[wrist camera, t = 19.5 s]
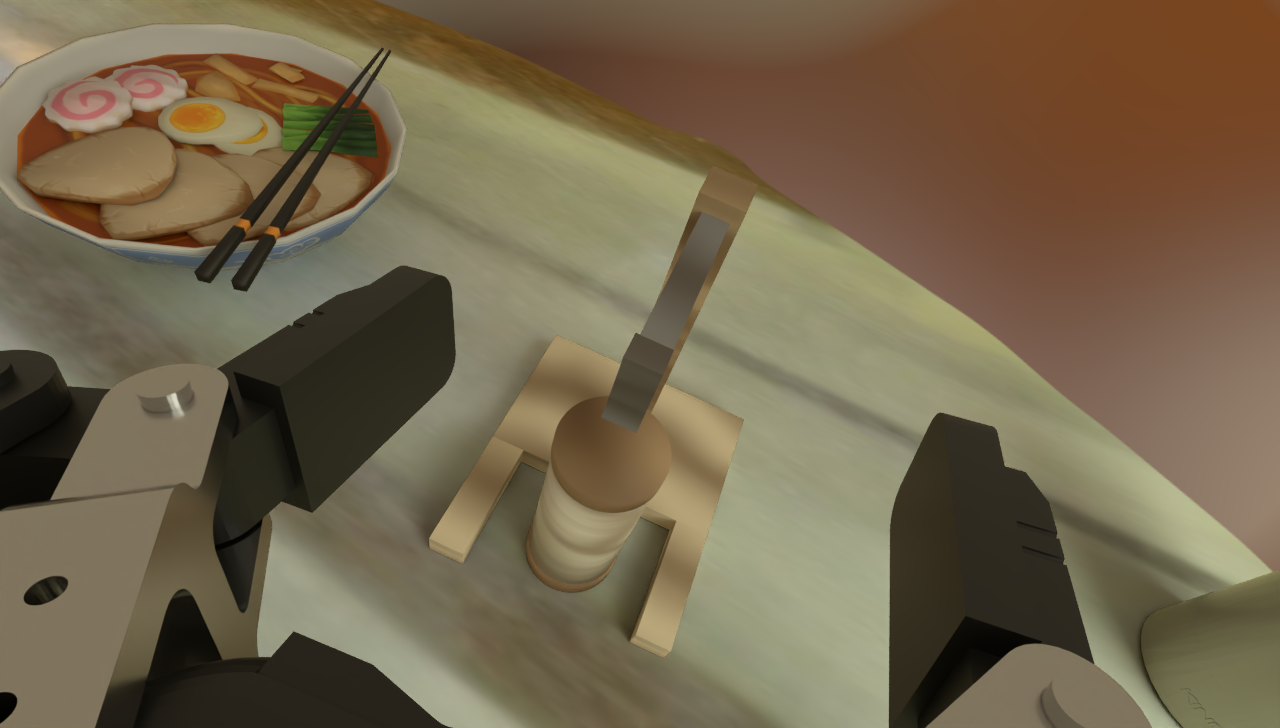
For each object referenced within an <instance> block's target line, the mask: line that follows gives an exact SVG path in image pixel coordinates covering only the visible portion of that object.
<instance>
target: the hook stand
mask: <svg viewBox="0 0 1280 728" xmlns="http://www.w3.org/2000/svg"><path fill="white" fill-rule="evenodd" d="M757 187H758V185H756V184H754V183H752V182H750V181H747V180H745V179H743V178H740V177H738V176H736V175H734V174H731V173H729V172H727V171H725V170H722V169H720V168H718V167H715V166H713V167H712V169H711V170H710V172H709V174H708V176H707V178H706V180H705V182H704V184H703V186H702V187H701V189H700V191H699V194H698V196H697V199H696V201H695V204H694V206H693V209H692V212H691V214H690V217H689V219H688V222H687V225H686V227H685V230H684V232H683V235H682V237H681V240H680V243H679V245H678V248H677V250H676V253H675V255H674V258H673V261H672V263H671V266H670V268H669V271H668V273H667V276H666V279H665V281H664V284H663V286H662V289H661V292H660V294H659V297H658V299H657V302H656V304H655V306H654V308H653V310H652V312H651V314H650V316H649V318H648V320H647V322H646V324H645V326H644V328H643V330H642V332H641V334H637V333H635V335H634V337H633V339H632V341H631V343H630V345H629V347H628V349H627V351H626V353H625V355H624V357H623V359H622V362H621V364H620V363H618V362H616V361H613V360H611V359H609V358H607V357H605V356H602V355H600V354H598V353H596V352H594V351H591V350H589V349H587V348H585V347H583V346H580V345H578V344H576V343H574V342H571V341H569V340H567V339H565V338H563V337H560V336H558V335H556V336H555V338H554V340H553V341H552V343H551V344H550V346H549V348H548V349H547V351H546V352H545V354H544V356H543V357H542V359H541V360H540V362H539V364H538V365H537V367H536V368H535V370H534V371H533V373H532V375H531V376H530V378H529V379H528V381H527V383H526V384H525V386H524V387H523V389H522V391H521V392H520V394H519V395H518V397H517V399H516V400H515V402H514V403H513V405H512V407H511V408H510V410H509V411H508V413H507V415H506V416H505V418H504V419H503V421H502V423H501V424H500V426H499V427H498V429H497V431H496V432H495V434H494V435H493V437H492V439H491V440H490V442H489V443H488V445H487V447H486V448H485V450H484V451H483V453H482V455H481V456H480V458H479V459H478V461H477V463H476V464H475V466H474V467H473V469H472V471H471V472H470V474H469V475H468V477H467V479H466V480H465V482H464V483H463V485H462V487H461V488H460V490H459V491H458V493H457V495H456V496H455V498H454V499H453V501H452V503H451V504H450V506H449V507H448V509H447V511H446V512H445V514H444V515H443V517H442V519H441V520H440V522H439V523H438V525H437V527H436V528H435V530H434V531H433V533H432V534H431V536H430V538H429V546H430V549H432V550H434V551H436V552H438V553H440V554H442V555H444V556H447V557H449V558H451V559H453V560H455V561H457V562H459V563H462V564H463V562H464V561H465V559H466V557H467V555H468V554H469V552H470V550H471V548H472V547H473V545H474V543H475V541H476V540H477V538H478V536H479V534H480V533H481V531H482V529H483V527H484V526H485V524H486V522H487V520H488V519H489V517H490V515H491V513H492V512H493V510H494V508H495V506H496V505H497V503H498V501H499V499H500V498H501V496H502V494H503V492H504V491H505V489H506V487H507V485H508V484H509V482H510V480H511V478H512V477H513V475H514V473H515V471H516V470H517V468H518V466H519V464H520V463H521V462H523V463H525V464H527V465H529V466H531V467H533V468H536V469H538V470H540V471H542V472H544V473H547V469H548V466H549V462H550V458H551V446H552V442H553V439H554V435H555V431H556V428H557V426H558V424H559V422H560V420H561V419H562V417H563V416H564V415H565V413H566V412H567V411H568V410H569V409H571V408H572V407H573V406H575V405H576V404H578V403H580V402H582V401H584V400H587V399H590V398H595V397H603V396H609V398H608V401H607V403H606V406H605V409H604V412H603V414H602V418H604V419H606V420H608V421H610V422H613V423H615V424H617V425H619V426H621V427H624V428H626V429H628V430H630V431H632V432H635V433H637V430H638V428H639V426H640V424H641V422H642V420H643V417H644V415H645V413H646V411H647V410H648V411H649V412H650V413H651V414H653V415H654V416H655V417H656V418H657V420H658V421H659V422H660V423H661V425H662V426H663V428H664V429H665V431H666V433H667V436H668V438H669V441H670V445H671V451H672V460H671V466H670V469H669V473H668V475H667V477H666V479H665V480H664V482H663V484H662V485H661V487H660V489H659V490H658V492H657V493H656V494H655V495H654V497H653V498H652V499H651V500H650V501H649V503H648V504H647V506H646V508H645V509H644V511H643V513H642V514H641V516H640V517H642V518H644V519H646V520H648V521H651V522H653V523H655V524H657V525H659V526H661V527H664V528H666V529H668V530H670V531H669V533H668V536H667V539H666V542H665V544H664V547H663V550H662V553H661V556H660V558H659V561H658V564H657V567H656V569H655V572H654V575H653V578H652V581H651V583H650V586H649V589H648V592H647V594H646V597H645V600H644V603H643V606H642V608H641V611H640V614H639V617H638V619H637V622H636V625H635V628H634V631H633V633H632V636H631V639H630V643H632V644H635V645H637V646H639V647H641V648H643V649H645V650H647V651H650V652H652V653H654V654H656V655H658V656H660V657H662V658H663V657H665V656H666V655H667V654H668V653H669V652H670V651H671V649H672V645H673V642H674V639H675V636H676V633H677V630H678V626H679V623H680V620H681V617H682V614H683V611H684V607H685V604H686V601H687V598H688V595H689V592H690V588H691V585H692V582H693V579H694V576H695V573H696V569H697V566H698V563H699V560H700V557H701V554H702V550H703V547H704V544H705V541H706V538H707V535H708V532H709V528H710V525H711V522H712V519H713V516H714V513H715V509H716V506H717V503H718V500H719V497H720V494H721V490H722V487H723V484H724V481H725V478H726V475H727V471H728V468H729V465H730V462H731V459H732V456H733V452H734V449H735V446H736V443H737V440H738V437H739V433H740V430H741V427H742V424H743V421H744V419H742V418H739V417H737V416H735V415H733V414H731V413H728V412H726V411H724V410H722V409H719V408H717V407H715V406H713V405H711V404H708V403H706V402H704V401H702V400H700V399H697V398H695V397H693V396H691V395H689V394H686V393H684V392H682V391H680V390H678V389H675V388H673V387H671V386H669V385H666V384H665V383H666V381H667V379H668V377H669V375H670V373H671V370H672V368H673V366H674V364H675V362H676V360H677V358H678V356H679V354H680V351H681V349H682V347H683V345H684V343H685V341H686V339H687V337H688V335H689V333H690V330H691V328H692V326H693V324H694V322H695V320H696V318H697V316H698V314H699V312H700V309H701V307H702V305H703V303H704V301H705V299H706V297H707V295H708V293H709V291H710V288H711V286H712V284H713V282H714V280H715V278H716V276H717V274H718V272H719V269H720V267H721V265H722V263H723V261H724V259H725V257H726V255H727V253H728V251H729V248H730V246H731V244H732V242H733V240H734V238H735V236H736V234H737V232H738V230H739V227H740V225H741V223H742V221H743V219H744V217H745V215H746V213H747V210H748V208H749V206H750V203H751V201H752V199H753V196H754V194H755V192H756V189H757Z"/></svg>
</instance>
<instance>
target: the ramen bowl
mask: <svg viewBox="0 0 1280 728" xmlns="http://www.w3.org/2000/svg"><path fill="white" fill-rule="evenodd" d="M383 50H384V48H381V49H380V51H379V52H378V53H377V54H376V55H375V57H374V58H373V59H372V60H371V61H370V63H369V64H368V65H367V66H366V67H365V69H363V68H362V67H360V66H359V65H358V64H357V63H355V62H354V61H353V60H352V59H350V58H347V57H345V56H343V55H340V54H338V53H335V52H333V51H331V50H328V49H326V48H324V47H321V46H319V45H316V44H314V43H312V42H309V41H307V40H305V39H302V38H300V37H297V36H294V35H288V34H283V33H277V32H272V31H266V30H260V29H255V28H249V27H244V26H238V25H232V24H149V25H144V26H139V27H134V28H129V29H124V30H119V31H114V32H109V33H104V34H99V35H94V36H89V37H84V38H80V39H77V40H75V41H73V42H71V43H69V44H66V45H64V46H62V47H60V48H58V49H56V50H53V51H51V52H49V53H47V54H45V55H43V56H40V57H38V58H36V59H34V60H32V61H30V62H27V63H25V64H23V65H21V66H19V67H17V68H16V69H15V70H14V71H13V72H12V73H11V74H10V76H9V77H8V78H7V79H6V80H5V81H4V82H3V83H2V85H1V86H0V189H1V190H2V191H3V192H4V193H5V194H6V195H7V197H8V198H9V199H10V200H11V201H12V202H13V203H14V204H15V206H16V207H17V208H19V209H20V210H22V211H24V212H26V213H28V214H30V215H31V216H33V217H35V218H37V219H39V220H41V221H42V222H44V223H46V224H48V225H51V226H53V227H55V228H58V229H60V230H62V231H65V232H67V233H69V234H72V235H74V236H76V237H79V238H81V239H83V240H86V241H88V242H90V243H93V244H95V245H97V246H100V247H102V248H104V249H107V250H109V251H111V252H114V253H116V254H119V255H122V256H124V257H127V258H130V259H133V260H136V261H139V262H145V263H151V264H158V265H168V266H178V267H189V268H197V269H196V271H195V274H196V277H197V279H198V280H199V281H203V282H207V283H211V282H212V281H213V279H214V278H215V276H216V275H217V274H218V272H219V271H222V270H229V269H236V268H240V269H239V270H238V272H237V273H236V274H235V276H234V277H233V279H232V280H231V282H232V285H233V288H234V289H236V290H241V291H246V292H247V290H248V289H249V287H250V285H251V284H252V282H253V280H254V279H255V277H256V275H257V274H258V272H259V270H260V269H261V267H262V265H264V264H271V263H278V262H283V261H286V260H288V259H290V258H292V257H295V256H297V255H299V254H301V253H303V252H306V251H308V250H310V249H312V248H315V247H317V246H319V245H321V244H323V243H326V242H328V241H330V240H332V239H334V238H335V237H337V236H339V235H340V234H342V233H343V232H344V231H345V230H346V229H347V228H348V227H349V226H350V225H351V224H352V223H353V222H354V221H355V220H356V219H357V218H358V217H359V216H360V215H361V214H362V213H363V212H364V211H365V210H366V209H367V208H368V207H370V206H371V205H372V204H373V203H374V202H375V201H376V200H377V199H378V197H379V196H380V195H381V194H382V193H383V192H384V191H385V190H386V189H387V188H388V187H389V185H390V183H391V182H392V180H393V178H394V177H395V175H396V173H397V171H398V168H399V164H400V159H401V155H402V150H403V146H404V141H405V137H406V132H407V128H406V125H405V123H404V121H403V118H402V116H401V114H400V112H399V109H398V107H397V105H396V102H395V100H394V98H393V95H392V93H391V91H390V90H389V89H388V88H386V87H385V86H384V85H383V84H381V83H380V82H379V81H378V80H376V79H375V78H376V76H377V74H378V73H379V71H380V69H381V68H382V66H383V64H384V63H385V61H386V59H387V58H388V56H389V54H390V53H391V50H389V51H388V52H387V54H386V55H385V57H384V58H383V60H382V61H381V63H380V64H379V66H378V67H377V68H376V70H375V71H374V73H373V74H372V75H370V74H369V73H368V70H369V69H370V68H371V66H372V65H373V64H374V62H375V61H376V59H377V58H378V57H379V55H380V54H381V53H382V51H383Z"/></svg>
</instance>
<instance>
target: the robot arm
mask: <svg viewBox="0 0 1280 728" xmlns="http://www.w3.org/2000/svg"><path fill="white" fill-rule="evenodd" d="M455 355H456V351H455V335H454V319H453V303H452V290H451V285H450V283H449V281H448V279H447V278H446V277H444V276H441V275H438V274H434V273H430V272H427V271H423V270H419V269H416V268H412V267H408V266H399V267H397V268H395V269H394V270H392V271H391V272H389V273H387V274H386V275H384V276H383V277H381V278H379V279H378V280H376V281H375V282H373V283H372V284H370V285H367V286H364V287H361V288H358V289H355V290H352V291H348V292H345V293H342V294H339V295H337V296H335V297H333V298H332V299H330V300H328V301H327V302H325V303H324V304H322V305H320V306H319V307H317V308H315V309H314V310H313V313H312V314H311V313H307V314H306V315H304V316H302V317H301V318H299V319H297V320H296V321H294V323H293V326H290V325H288V326H286V327H284V328H283V329H281V330H280V331H278V332H276V333H275V334H273V335H271V336H270V337H268V338H267V339H265V340H263V341H262V342H260V343H258V344H257V345H255V346H254V347H252V348H250V349H249V350H247V351H245V352H244V353H242V354H241V355H239V356H237V357H236V358H234V359H232V360H231V361H229V362H228V363H226V364H224V365H223V366H221V367H219V368H218V369H215V368H213V367H210V366H206V365H200V364H175V365H167V366H162V367H157V368H154V369H150V370H147V371H144V372H141V373H138V374H136V375H134V376H132V377H129V378H127V379H126V380H124V381H122V382H120V383H119V384H117V385H116V386H115V387H113V388H112V389H98V388H83V387H69V386H67V384H66V382H65V380H64V378H63V376H62V374H61V372H60V370H59V368H58V366H57V364H56V362H55V361H54V359H53V358H52V357H50V356H49V355H47V354H44V353H41V352H37V351H30V350H7V351H0V728H451V727H447V726H445V725H443V724H441V723H440V722H438V721H437V720H436V719H434V718H433V717H432V716H431V715H430V714H429V713H427V712H426V711H425V710H424V709H423V708H422V707H421V706H419V705H418V704H417V703H416V702H415V701H414V700H413V699H411V698H410V697H409V696H408V695H407V694H406V693H405V692H403V691H402V690H401V689H400V688H399V687H398V686H397V685H395V684H394V683H393V682H392V681H391V680H390V679H389V678H387V677H386V676H385V675H384V674H383V673H382V672H380V671H379V670H378V669H377V668H376V667H375V666H374V665H372V664H370V663H368V662H365V661H363V660H360V659H358V658H356V657H353V656H351V655H349V654H346V653H344V652H341V651H339V650H337V649H334V648H332V647H329V646H327V645H325V644H322V643H320V642H318V641H315V640H313V639H310V638H308V637H306V636H303V635H301V634H299V633H296V632H293V633H292V634H291V635H290V636H289V637H288V639H287V640H286V641H285V642H284V643H283V644H282V645H281V646H280V648H279V649H278V650H277V651H276V652H275V653H274V654H273V656H272V657H259V656H258V649H257V627H258V620H259V613H260V607H261V600H262V593H263V587H264V580H265V573H266V567H267V560H268V553H269V547H270V540H271V533H272V520H271V517H270V513H269V512H270V511H271V510H272V509H273V508H275V507H276V506H277V505H278V504H279V503H280V502H281V501H282V502H285V503H287V504H290V505H293V506H295V507H298V508H301V509H303V510H306V511H309V512H312V513H313V512H314V511H315V510H316V509H317V508H318V507H319V506H320V505H321V504H322V503H323V502H324V501H325V500H326V499H327V498H328V497H329V496H330V495H331V494H332V493H333V492H334V491H335V490H336V489H337V488H338V487H340V486H341V485H342V484H343V483H344V482H345V481H346V480H347V479H348V478H349V477H350V476H351V475H352V474H353V473H354V472H355V471H356V470H357V469H358V468H359V467H360V466H361V465H362V464H363V463H364V462H365V461H367V460H368V459H369V458H370V457H371V456H372V455H373V454H374V453H375V452H376V451H377V450H378V449H379V448H380V447H381V446H382V445H383V444H384V443H385V442H386V441H387V440H388V439H389V438H390V437H391V436H393V435H394V434H395V433H396V432H397V431H398V430H399V429H400V428H401V427H402V426H403V425H404V424H405V423H406V422H407V421H408V420H409V419H410V418H411V417H412V416H413V415H414V414H415V413H416V412H417V411H418V410H420V409H421V408H422V407H423V406H424V405H425V404H426V403H427V402H428V401H429V400H430V399H431V398H432V397H433V396H434V395H435V394H436V393H437V392H438V391H439V390H440V389H441V388H442V387H443V386H444V385H445V384H446V382H447V381H448V379H449V377H450V375H451V373H452V370H453V367H454V363H455ZM1056 535H1057V530H1056V526H1055V522H1054V519H1053V515H1052V512H1051V508H1050V505H1049V502H1048V501H1047V499H1046V498H1045V497H1044V496H1043V494H1042V493H1041V492H1040V490H1039V489H1038V488H1037V486H1036V485H1035V484H1034V483H1033V481H1032V480H1031V479H1030V477H1029V476H1028V475H1027V473H1026V472H1023V471H1019V470H1016V469H1012V468H1009V467H1005V466H1004V461H1003V456H1002V452H1001V447H1000V442H999V438H998V433H997V430H996V429H995V428H994V427H992V426H988V425H985V424H981V423H977V422H974V421H970V420H966V419H962V418H959V417H955V416H951V415H948V414H944V413H938V414H937V415H936V416H935V417H934V418H933V420H932V422H931V423H930V425H929V427H928V429H927V432H926V434H925V436H924V438H923V440H922V442H921V444H920V446H919V448H918V450H917V452H916V455H915V457H914V459H913V461H912V463H911V465H910V467H909V469H908V471H907V473H906V475H905V478H904V480H903V482H902V484H901V486H900V488H899V491H898V493H897V496H896V499H895V503H894V507H893V511H892V517H891V524H890V637H889V728H1152V727H1151V725H1150V723H1149V721H1148V719H1147V718H1146V716H1145V715H1144V713H1143V711H1142V710H1141V709H1140V707H1139V706H1138V705H1137V703H1136V702H1135V701H1134V700H1133V698H1132V697H1131V696H1130V695H1129V694H1128V693H1127V692H1126V691H1125V690H1124V689H1123V688H1122V686H1121V685H1119V684H1118V683H1117V682H1116V681H1115V680H1114V679H1113V678H1111V677H1110V676H1109V675H1108V674H1107V673H1105V672H1104V671H1103V670H1101V669H1100V668H1098V667H1097V666H1096V665H1094V661H1093V657H1092V654H1091V650H1090V647H1089V643H1088V640H1087V636H1086V633H1085V629H1084V625H1083V622H1082V618H1081V615H1080V611H1079V608H1078V604H1077V601H1076V597H1075V593H1074V590H1073V586H1072V583H1071V579H1070V576H1069V572H1068V569H1067V565H1064V564H1063V562H1064V559H1065V558H1064V554H1063V551H1062V547H1061V544H1060V540H1059V539H1057V538H1056ZM1141 651H1142V655H1143V659H1144V663H1145V667H1146V669H1147V672H1148V674H1149V677H1150V680H1151V682H1152V684H1153V686H1154V688H1155V689H1156V691H1157V693H1158V695H1159V697H1160V698H1161V700H1162V701H1163V703H1164V704H1165V706H1166V707H1167V708H1168V710H1169V711H1170V713H1171V714H1172V715H1173V717H1174V718H1175V719H1176V720H1177V721H1178V722H1179V723H1180V724H1181V726H1182V727H1183V728H1280V570H1279V571H1275V572H1272V573H1269V574H1266V575H1263V576H1260V577H1257V578H1254V579H1251V580H1248V581H1245V582H1242V583H1239V584H1236V585H1233V586H1230V587H1227V588H1224V589H1221V590H1218V591H1215V592H1211V593H1208V594H1205V595H1202V596H1199V597H1196V598H1193V599H1190V600H1187V601H1184V602H1181V603H1179V604H1176V605H1172V606H1169V607H1166V608H1163V609H1160V610H1157V611H1155V612H1154V613H1152V614H1151V615H1150V616H1149V617H1148V618H1147V620H1146V621H1145V623H1144V625H1143V629H1142V634H1141Z"/></svg>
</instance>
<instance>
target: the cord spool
mask: <svg viewBox="0 0 1280 728" xmlns="http://www.w3.org/2000/svg"><path fill="white" fill-rule="evenodd" d="M608 398H609V396H603V397H595V398H590V399H587V400H584V401H582V402H580V403H578V404H576V405H575V406H573V407H572V408H571V409H569V410H568V411H567V412H566V413H565V415H564V416H563V417H562V419H561V420H560V422H559V424H558V426H557V428H556V431H555V435H554V439H553V442H552V446H551V458H550V462H549V466H548V469H547V473H546V477H545V480H544V484H543V488H542V491H541V495H540V499H539V502H538V506H537V510H536V513H535V517H534V519H533V521H532V523H531V525H530V528H529V532H528V536H527V540H526V555H527V559H528V562H529V565H530V567H531V569H532V571H533V572H534V574H535V575H536V576H537V577H538V578H539V579H540V580H541V581H542V582H543V583H544V584H546V585H547V586H549V587H551V588H553V589H556V590H558V591H562V592H581V591H585V590H588V589H590V588H592V587H594V586H596V585H597V584H599V583H600V582H601V581H602V580H603V579H604V578H605V577H606V576H607V574H608V573H609V571H610V570H611V568H612V566H613V565H614V563H615V561H616V558H617V555H618V553H619V551H620V550H621V548H622V546H623V545H624V543H625V541H626V539H627V538H628V536H629V534H630V533H631V531H632V529H633V528H634V526H635V524H636V523H637V521H638V519H639V518H640V516H641V514H642V513H643V511H644V509H645V508H646V506H647V504H648V503H649V501H650V500H651V499H652V498H653V497H654V495H655V494H656V493H657V492H658V490H659V489H660V487H661V485H662V484H663V482H664V480H665V479H666V477H667V475H668V473H669V469H670V466H671V460H672V451H671V445H670V441H669V438H668V436H667V433H666V431H665V429H664V428H663V426H662V425H661V423H660V422H659V421H658V420H657V418H656V417H655V416H654V415H653V414H651V413H650V412H649V411H648V410H647V411H646V413H645V415H644V417H643V420H642V422H641V424H640V426H639V428H638V430H637V433H635V432H632V431H630V430H628V429H626V428H624V427H621V426H619V425H617V424H615V423H613V422H610V421H608V420H606V419H604V418H602V414H603V412H604V409H605V406H606V403H607V401H608Z"/></svg>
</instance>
